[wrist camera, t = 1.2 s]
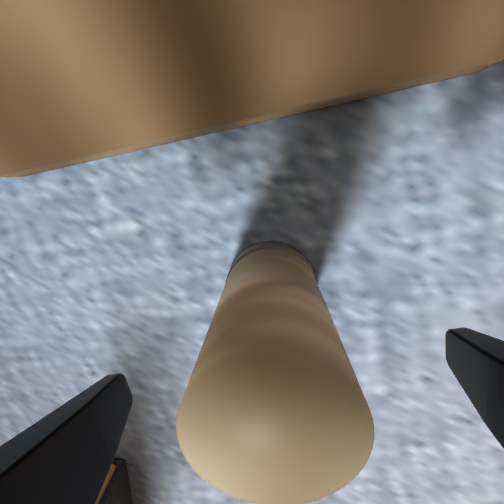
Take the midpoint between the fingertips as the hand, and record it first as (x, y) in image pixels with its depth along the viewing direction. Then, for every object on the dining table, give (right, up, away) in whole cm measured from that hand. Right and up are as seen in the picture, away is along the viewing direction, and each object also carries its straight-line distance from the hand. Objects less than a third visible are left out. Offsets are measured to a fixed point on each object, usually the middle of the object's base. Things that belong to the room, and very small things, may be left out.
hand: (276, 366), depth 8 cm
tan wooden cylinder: (0, +2, +6) cm, 6 cm away
